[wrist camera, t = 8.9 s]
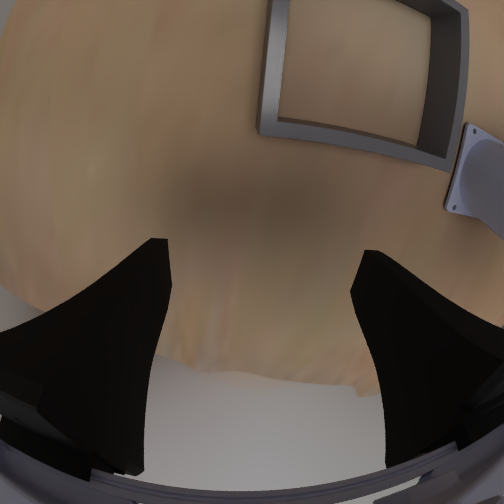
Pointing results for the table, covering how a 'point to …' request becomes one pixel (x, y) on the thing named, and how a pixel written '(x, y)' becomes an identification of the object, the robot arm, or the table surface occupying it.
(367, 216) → the table surface
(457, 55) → the grey square frame
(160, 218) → the table surface
